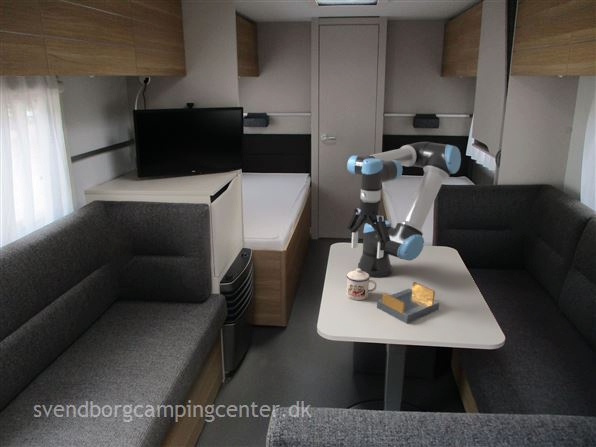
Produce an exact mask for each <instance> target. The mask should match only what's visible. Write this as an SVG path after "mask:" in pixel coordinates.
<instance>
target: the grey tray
mask: <svg viewBox="0 0 596 447" xmlns="http://www.w3.org/2000/svg"><path fill="white" fill-rule="evenodd" d="M435 293H436V291H435V290H434V289H432V288H429V287H427V286H424V285H423V284H420V283H418V282H417V281H416V282H415V281H414V282H412V288H407V289H403V290H402V291H399V292H395V293H394V294H388V293H385V292H384V293H382V298H380V299H377V303H376V308H377V309H379V310H381V311H382V312H384V313H386V314H388V315H390V316H392V317H394V318H395V319H398V320H400V321H401V322H403V323H405V324H410V323H412V322H414V321H417V320H419V319H421V318H423V317H425V316H428V315H430V314H432V313H435V312H437V311H439V307H440V301H437V300H435V296H436V294H435Z"/></svg>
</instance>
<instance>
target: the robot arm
mask: <svg viewBox="0 0 596 447" xmlns="http://www.w3.org/2000/svg"><path fill="white" fill-rule="evenodd" d="M461 162H462V156H461V152H460V148H458V146H456V145H452V144H451V145H450V144H443V143H436V142H431V141H419V142H414V143H410V144H406V145H402V146H401V147H400V148H398V149H392V150H388V151H384V152H379V153H374V154H370V155H364V156H363V155H351V156H350V157H349V158H348V159H347V164H346V165H347V166H346V168H347V171H348V172H349V173H350V174H351V175H353V174H354V175H355V176H361V183H360V184H361V185H360V196H359V197H360V200H359V207H358V208H354V210H353V215H352V216H351V218H350V221H349V223H348V225H347V226H346V227H347V230H349V231H350V239H351V249H355V248H358V245H359V244H358V243H359V231H358V230H359V228H361V226H362V225H363V224H364V227H363V237H362V239H363V240H362V254H361V256H360V259H359V262H358V265H357V269H358V268H359V269H361V271H364V272H366V273H368V274H369V276H370V278H383V277H388V276H390V275H391V274H392V269H393V268H392V265H391V260H390V256H393V257H395V258H398V259H401V260H403V261H404V260H405V261H413V260H414V259H415V260H416V259H417V258H418V257H419V256H420V254H421V253H422V252H423V249H424V244H425V239H424V237H423V235H424V233H423V231H422V228H423V226H424V225H425V222H426V220H427V217H428V216H429V213H430V210H431V209H432V206H433V205H434V202H435V200H436V197H437V195H438V194H439V191H440V189H441V187H442V185H443V182H444V181H446V180H448V179H449V178H450V175H451V174H456V173H457V172H458V171H459V169H460V167H461ZM403 167H406V168H407V167H418V168H422V169H423V176H422V178H421V180H420V183H419V185H418V186H417V189H416V191H415V193H414V195H413V198H412V199H411V201H410V203H409V206H408V208H407V210H406V213H405V215H404V217H403V219H402V220H401V221H398V222H397V223H396V226H395V227H392V222H391V221H389V220H386V216H385V215H380V214H379V212H380V209H381V208H380V207H381V201H380V200H381V198H382V197H381V193H382V183H386V182H390V181H392V182H393V181H395V180H397V179H400V177H401V176H402V174H403Z"/></svg>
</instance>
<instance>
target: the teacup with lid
mask: <svg viewBox="0 0 596 447" xmlns="http://www.w3.org/2000/svg"><path fill="white" fill-rule="evenodd" d="M370 278H371V277H370V276H369V274H368V273H366V272H364V271H361V269H359V268H358V267H357V268H356V269H355V270H350V271H349V272H348V273H347V275H346V297H347V298H349V299H351V300H354V301H363V300H366V299H368V296H369V293H373V292H374V291H376V289H377V286H378V285H377V281H375V280H372V279H370ZM369 283H373V284H374V286H373V288H372V289H369V285H370V284H369Z"/></svg>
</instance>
